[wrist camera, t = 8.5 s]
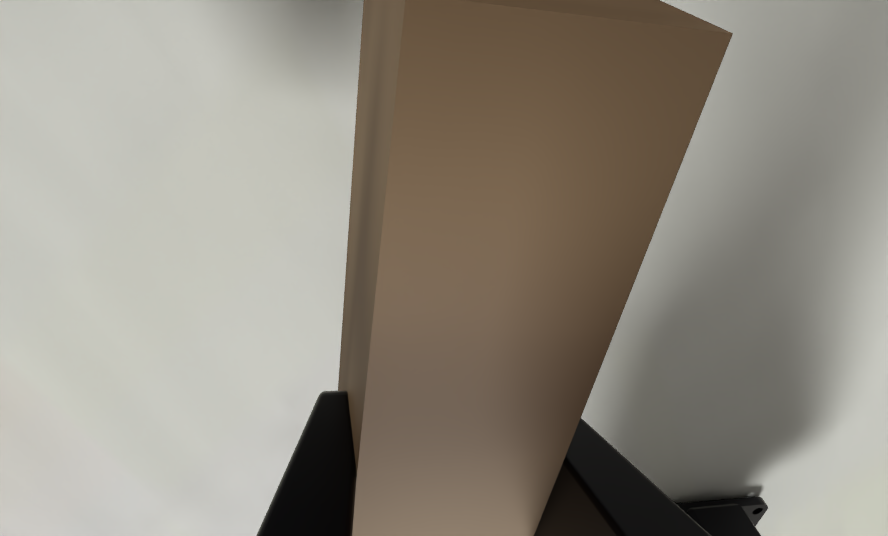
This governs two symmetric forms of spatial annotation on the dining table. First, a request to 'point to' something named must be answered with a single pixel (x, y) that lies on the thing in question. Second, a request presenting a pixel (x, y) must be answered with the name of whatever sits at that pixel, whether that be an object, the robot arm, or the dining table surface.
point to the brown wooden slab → (500, 238)
